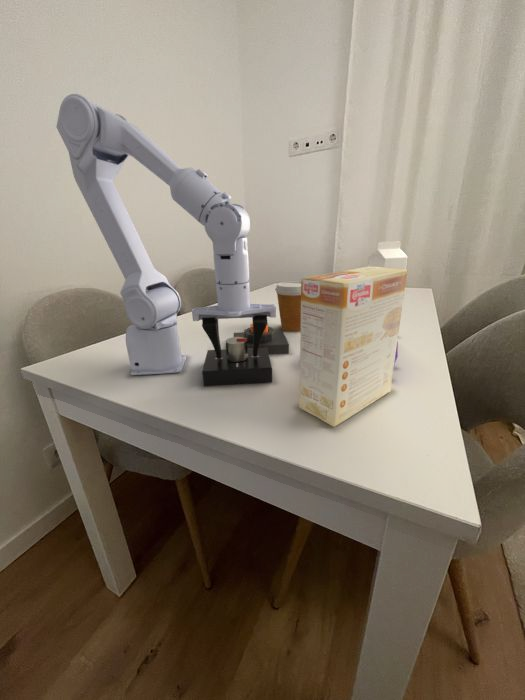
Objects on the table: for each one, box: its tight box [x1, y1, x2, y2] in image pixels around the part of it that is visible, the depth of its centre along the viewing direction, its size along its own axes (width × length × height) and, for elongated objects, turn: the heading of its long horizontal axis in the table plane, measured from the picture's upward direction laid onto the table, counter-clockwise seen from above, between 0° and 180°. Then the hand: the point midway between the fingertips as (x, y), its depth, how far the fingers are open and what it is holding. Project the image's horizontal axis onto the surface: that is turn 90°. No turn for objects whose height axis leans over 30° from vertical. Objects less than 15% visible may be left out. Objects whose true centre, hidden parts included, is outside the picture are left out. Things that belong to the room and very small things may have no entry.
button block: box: [233, 326, 290, 356], centre depth 69 cm, size 12×10×4 cm
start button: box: [249, 323, 269, 333], centre depth 68 cm, size 4×4×2 cm
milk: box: [367, 240, 409, 270], centre depth 72 cm, size 6×6×22 cm
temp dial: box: [224, 337, 248, 362], centre depth 56 cm, size 4×4×4 cm
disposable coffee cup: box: [275, 280, 301, 333], centre depth 81 cm, size 10×10×12 cm
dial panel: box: [201, 347, 273, 388], centre depth 57 cm, size 12×10×3 cm
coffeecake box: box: [298, 266, 408, 428], centre depth 44 cm, size 15×7×20 cm, turn 129°
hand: (237, 355), depth 56 cm, fingers open, 6 cm apart
